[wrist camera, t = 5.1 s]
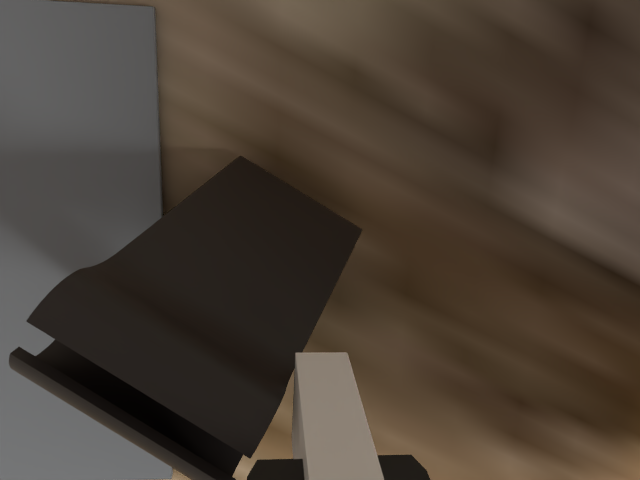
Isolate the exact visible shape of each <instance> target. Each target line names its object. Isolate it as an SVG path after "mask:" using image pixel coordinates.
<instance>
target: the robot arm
mask: <svg viewBox="0 0 640 480" xmlns="http://www.w3.org/2000/svg"><path fill="white" fill-rule="evenodd" d="M292 447H293V459H272V460H257V461H256V463H255V465H254V466H253V468H252V470H251V471H250V473H249V475H248V476H247V480H430V478H429V475H428V473H427V471H426V469H425V468H424V467H423V466H422V465H421V464H420V463H419V462H418V461H417V460H416V459H415V458H414V457H413V456H412V455H377V453H376V450H375V446H374V443H373V439H372V436H371V432H370V429H369V425H368V422H367V418H366V415H365V412H364V408H363V405H362V401H361V398H360V394H359V391H358V387H357V384H356V381H355V377H354V374H353V370H352V367H351V363H350V360H349V356H348V353H347V352H320V353H295V374H294V398H293V422H292Z"/></svg>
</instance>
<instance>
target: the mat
mask: <svg viewBox="0 0 640 480" xmlns="http://www.w3.org/2000/svg"><path fill="white" fill-rule="evenodd" d="M162 217H163V205H162V179H161V152H160V125H159V99H158V72H157V46H156V19H155V7H151V6H134V5H117V4H100V3H82V2H65V1H48V0H0V480H144V479H171V478H172V474H173V471H172V467H171V466H169V465H167V464H166V463H164V462H162V461H161V460H159V459H157V458H156V457H154V456H153V455H151V454H149V453H148V452H146V451H144V450H143V449H141V448H140V447H138V446H136V445H135V444H133V443H131V442H130V441H128V440H126V439H125V438H123V437H122V436H120V435H118V434H117V433H115V432H113V431H112V430H110V429H109V428H107V427H105V426H104V425H102V424H100V423H99V422H97V421H96V420H94V419H92V418H91V417H89V416H87V415H86V414H84V413H82V412H81V411H79V410H78V409H76V408H74V407H73V406H71V405H69V404H68V403H66V402H65V401H63V400H61V399H60V398H58V397H56V396H55V395H53V394H51V393H50V392H48V391H47V390H45V389H43V388H42V387H40V386H38V385H37V384H35V383H34V382H32V381H30V380H29V379H27V378H25V377H24V376H22V375H20V374H19V373H17V372H16V371H14V370H12V369H11V368H10V366H9V355H10V353H11V352H13V351H14V350H15V349H16V348H18V347H21V348H22V349H24V350H26V351H27V352H29V353H31V354H32V355H34V356H36V355H38V354H39V353H41V352H42V351H43V350H44V349H46V348H47V347H48V346H49V345H50V344H51V343H52V342H53V341H54V340H55V339H54V338H52V337H51V336H49V335H47V334H46V333H44V332H43V331H41V330H39V329H38V328H36V327H34V326H33V325H31V324H29V323H28V322H26V320H27V319H28V318H29V316H30V315H31V313H32V312H33V311H34V309H35V308H36V307H37V306H38V304H39V303H40V302H41V301H42V300H43V299H44V298H45V296H46V295H47V294H48V293H49V292H50V291H51V290H52V289H53V288H54V287H55V286H56V285H57V284H59V283H60V282H61V281H62V280H63V279H65V278H66V277H67V276H69V275H70V274H72V273H73V272H75V271H77V270H79V269H82V268H86V267H91V266H94V265H97V264H99V263H102V262H104V261H105V260H107V259H109V258H110V257H112V256H113V255H115V254H116V253H117V252H119V251H120V250H121V249H122V248H124V247H125V246H126V245H127V244H129V243H130V242H131V241H133V240H134V239H135V238H136V237H138V236H139V235H140V234H141V233H143V232H144V231H145V230H147V229H148V228H149V227H150V226H152V225H153V224H154V223H155V222H157V221H158V220H159V219H161V218H162Z"/></svg>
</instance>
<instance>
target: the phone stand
mask: <svg viewBox="0 0 640 480" xmlns="http://www.w3.org/2000/svg"><path fill="white" fill-rule="evenodd" d="M361 232H362V229H361V228H359V227H357V226H356V225H354V224H353V223H351V222H349V221H348V220H346V219H344V218H343V217H341V216H339V215H338V214H336V213H334V212H333V211H331V210H329V209H328V208H326V207H325V206H323V205H321V204H320V203H318V202H316V201H315V200H313V199H311V198H310V197H308V196H306V195H305V194H303V193H302V192H300V191H298V190H297V189H295V188H293V187H292V186H290V185H288V184H287V183H285V182H283V181H282V180H280V179H279V178H277V177H275V176H274V175H272V174H270V173H269V172H267V171H265V170H264V169H262V168H260V167H259V166H257V165H256V164H254V163H252V162H251V161H249V160H247V159H246V158H244V157H242V156H239V157H238V158H237V159H235V160H234V161H233V162H232V163H230V164H229V165H228V166H227V167H225V168H224V169H223V170H221V171H220V172H219V173H218V174H216V175H215V176H214V177H213V178H211V179H210V180H209V181H208V182H206V183H205V184H204V185H202V186H201V187H200V188H199V189H197V190H196V191H195V192H194V193H192V194H191V195H190V196H188V197H187V198H186V199H185V200H183V201H182V202H181V203H180V204H178V205H177V206H176V207H174V208H173V209H172V210H171V211H169V212H168V213H167V214H166V215H164V216H163V217H162V218H161V219H159V220H158V221H157V222H155V223H154V224H153V225H152V226H150V227H149V228H148V229H147V230H145V231H144V232H143V233H141V234H140V235H139V236H138V237H136V238H135V239H134V240H133V241H131V242H130V243H129V244H127V245H126V246H125V247H124V248H122V249H121V250H120V251H119V252H117V253H116V254H115V255H113V256H112V257H110V258H109V259H107V260H105V261H104V262H102V263H99V264H97V265H94V266H91V267H86V268H82V269H79V270H77V271H75V272H73V273H72V274H70V275H69V276H67V277H66V278H65V279H63V280H62V281H61V282H60V283H59V284H57V285H56V286H55V287H54V288H53V289H52V290H51V291H50V292H49V293H48V294H47V295H46V296H45V298H44V299H43V300H42V301H41V302H40V303H39V304H38V306H37V307H36V308H35V309H34V311H33V312H32V313H31V315H30V316H29V318H28V319H27V320H26V322H28V323H29V324H31V325H33V326H34V327H36V328H38V329H39V330H41V331H43V332H44V333H46V334H47V335H49V336H51V337H52V338H54V339H55V340H54V341H53V342H52V343H51V344H50V345H49V346H48V347H47V348H46V349H44V350H43V351H42V352H41V353H39V354H38V355H36V356H34V355H32V354H31V353H29V352H27V351H26V350H24V349H22V348H21V347H18V348H16V349H15V350H14V351H13V352H11V353H10V355H9V366H10V368H11V369H12V370H14V371H16V372H17V373H19V374H20V375H22V376H24V377H25V378H27V379H29V380H30V381H32V382H34V383H35V384H37V385H38V386H40V387H42V388H43V389H45V390H47V391H48V392H50V393H51V394H53V395H55V396H56V397H58V398H60V399H61V400H63V401H65V402H66V403H68V404H69V405H71V406H73V407H74V408H76V409H78V410H79V411H81V412H82V413H84V414H86V415H87V416H89V417H91V418H92V419H94V420H96V421H97V422H99V423H100V424H102V425H104V426H105V427H107V428H109V429H110V430H112V431H113V432H115V433H117V434H118V435H120V436H122V437H123V438H125V439H126V440H128V441H130V442H131V443H133V444H135V445H136V446H138V447H140V448H141V449H143V450H144V451H146V452H148V453H149V454H151V455H153V456H154V457H156V458H157V459H159V460H161V461H162V462H164V463H166V464H167V465H169V466H171V467H172V468H174V469H175V470H177V471H179V472H180V473H182V474H184V475H185V476H187V477H188V478H190V479H192V480H236V479H235V478H233V477H232V476H233V474H234V471H235V469H236V467H237V465H238V463H239V462H240V460H241V458H242V456H243V455H245V456H247V457H248V458H251V457H252V455H253V453H254V452H255V450H256V448H257V446H258V445H259V443H260V441H261V439H262V438H263V436H264V434H265V432H266V430H267V428H268V427H269V425H270V423H271V421H272V419H273V417H274V415H275V413H276V411H277V409H278V407H279V405H280V403H281V401H282V398H283V396H284V394H285V391H286V387H287V384H288V382H289V379H290V377H291V374H292V372H293V370H294V368H295V353H302V351H303V349H304V347H305V345H306V343H307V341H308V339H309V337H310V335H311V333H312V331H313V329H314V327H315V325H316V323H317V321H318V319H319V317H320V315H321V313H322V311H323V309H324V307H325V305H326V303H327V301H328V299H329V297H330V295H331V293H332V291H333V289H334V287H335V285H336V283H337V280H338V278H339V276H340V274H341V272H342V270H343V268H344V266H345V264H346V262H347V260H348V258H349V256H350V254H351V252H352V250H353V248H354V246H355V244H356V242H357V240H358V238H359V236H360V234H361Z"/></svg>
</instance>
